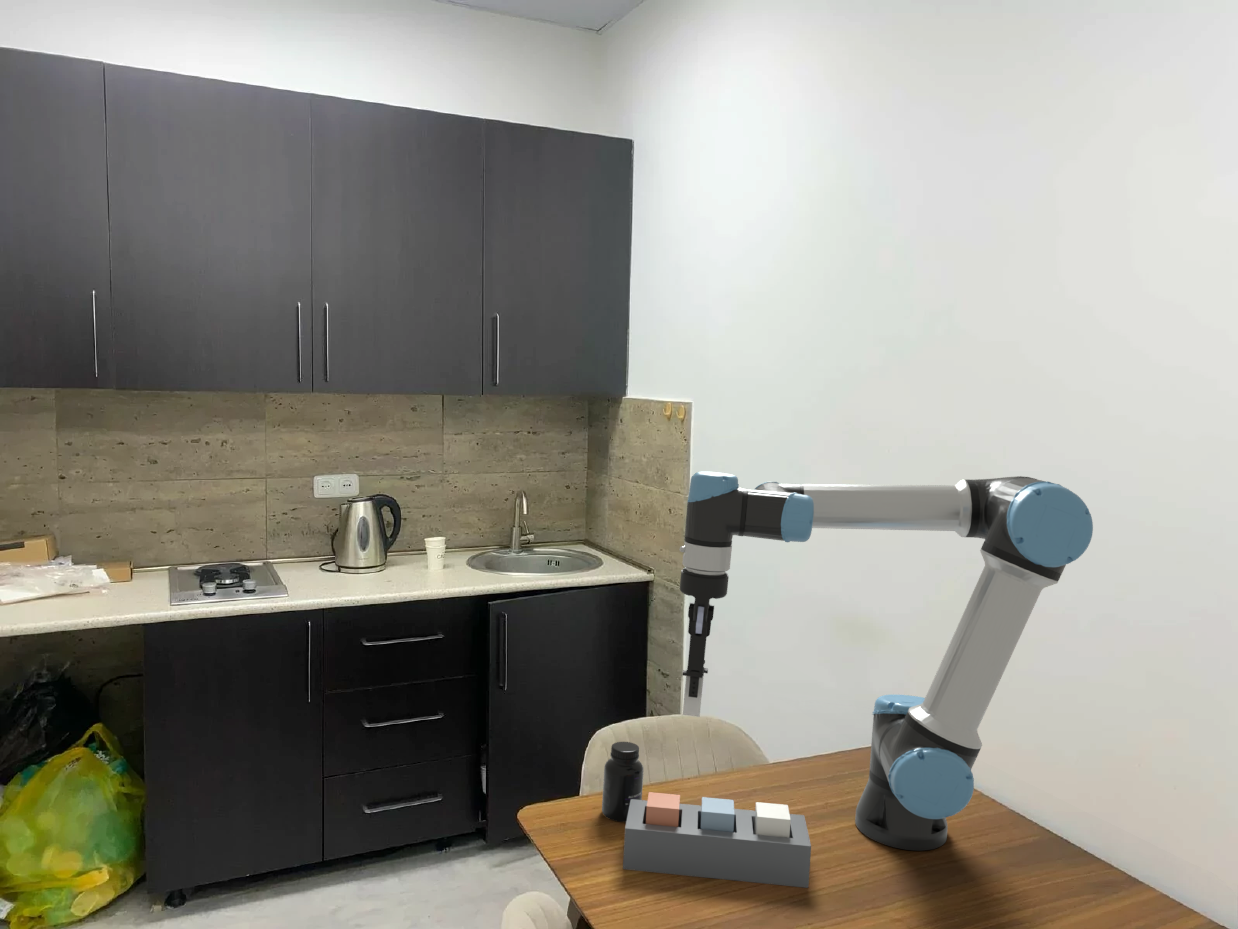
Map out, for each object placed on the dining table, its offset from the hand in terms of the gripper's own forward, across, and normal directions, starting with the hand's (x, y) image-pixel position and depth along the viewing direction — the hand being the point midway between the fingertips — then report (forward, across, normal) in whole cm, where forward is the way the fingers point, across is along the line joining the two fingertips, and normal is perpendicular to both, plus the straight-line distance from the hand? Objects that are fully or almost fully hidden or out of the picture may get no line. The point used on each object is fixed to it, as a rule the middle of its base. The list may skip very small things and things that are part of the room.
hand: (691, 714), depth 144 cm
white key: (+17, +4, +14) cm, 23 cm away
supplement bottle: (+23, -8, -10) cm, 26 cm away
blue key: (+18, +4, +6) cm, 19 cm away
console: (+22, +4, +6) cm, 23 cm away
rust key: (+18, +4, -3) cm, 19 cm away
